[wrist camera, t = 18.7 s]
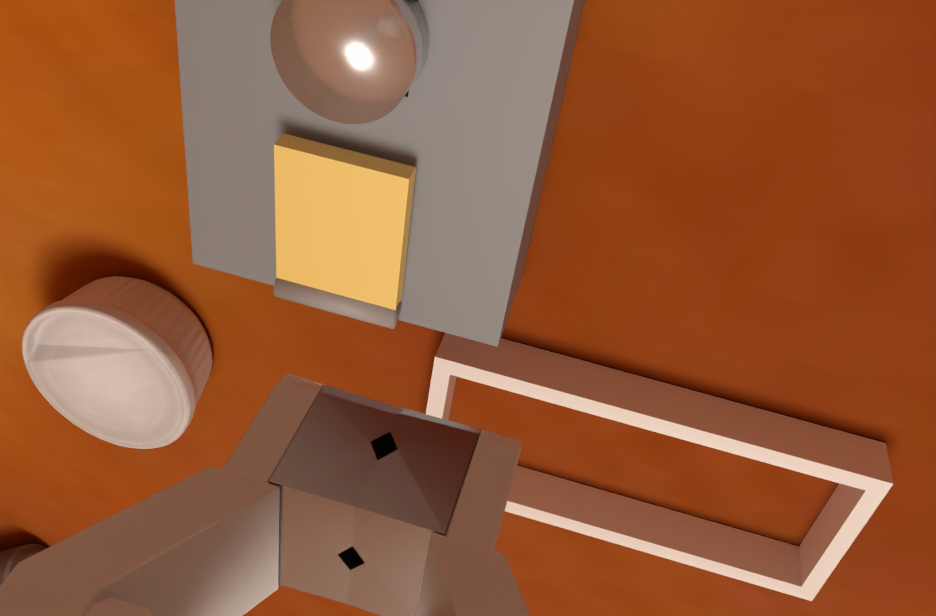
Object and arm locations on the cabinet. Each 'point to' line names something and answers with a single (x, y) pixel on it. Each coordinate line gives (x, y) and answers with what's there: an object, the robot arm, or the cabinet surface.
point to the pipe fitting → (16, 557)
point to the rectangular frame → (693, 420)
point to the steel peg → (349, 54)
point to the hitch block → (388, 146)
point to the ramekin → (120, 361)
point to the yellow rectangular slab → (341, 229)
